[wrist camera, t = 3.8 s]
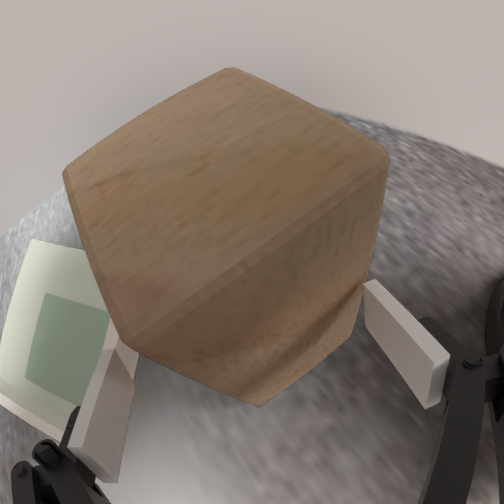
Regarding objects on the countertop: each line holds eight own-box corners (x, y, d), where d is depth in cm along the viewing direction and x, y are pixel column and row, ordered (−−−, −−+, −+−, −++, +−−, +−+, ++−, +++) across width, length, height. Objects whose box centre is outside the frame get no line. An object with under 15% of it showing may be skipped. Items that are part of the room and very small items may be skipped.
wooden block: (353, 335, 26) (397, 148, 9) (258, 409, 24) (118, 350, 8) (282, 258, 31) (231, 61, 14) (196, 321, 30) (56, 168, 13)
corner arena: (162, 267, 32) (143, 248, 27) (119, 450, 25) (94, 459, 20) (34, 240, 35) (10, 223, 30) (-4, 383, 28) (-32, 379, 23)
